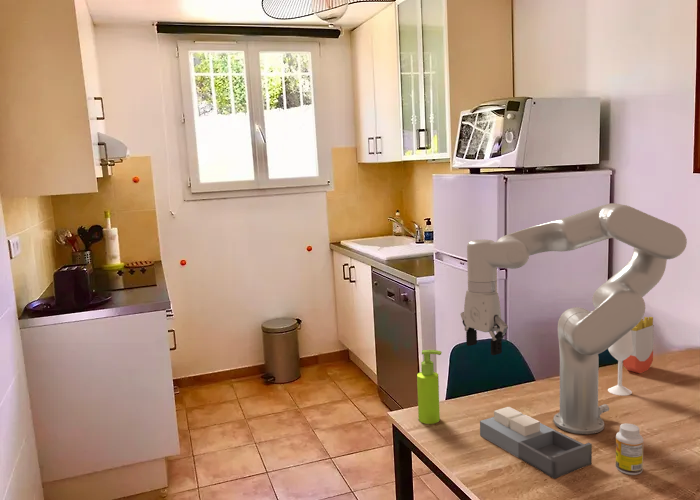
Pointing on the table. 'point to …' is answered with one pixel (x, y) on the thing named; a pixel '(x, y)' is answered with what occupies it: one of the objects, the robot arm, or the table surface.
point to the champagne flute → (621, 352)
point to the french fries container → (641, 347)
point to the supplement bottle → (629, 449)
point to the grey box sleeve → (514, 436)
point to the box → (557, 455)
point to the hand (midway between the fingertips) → (483, 349)
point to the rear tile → (506, 415)
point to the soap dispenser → (428, 390)
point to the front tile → (525, 425)
